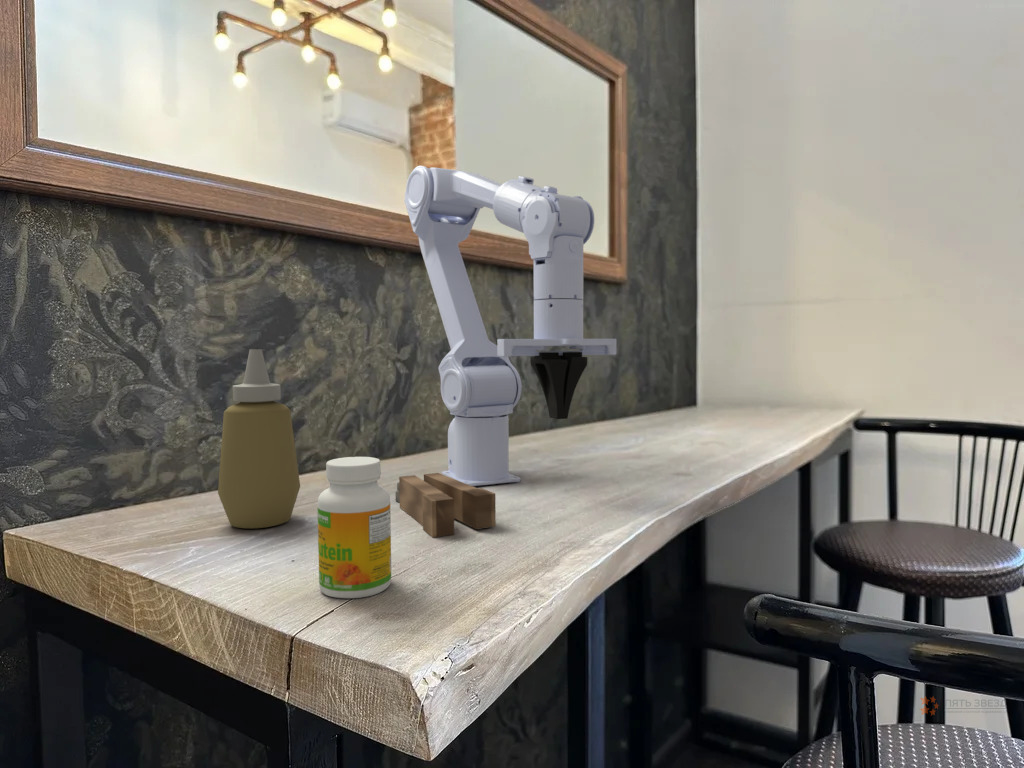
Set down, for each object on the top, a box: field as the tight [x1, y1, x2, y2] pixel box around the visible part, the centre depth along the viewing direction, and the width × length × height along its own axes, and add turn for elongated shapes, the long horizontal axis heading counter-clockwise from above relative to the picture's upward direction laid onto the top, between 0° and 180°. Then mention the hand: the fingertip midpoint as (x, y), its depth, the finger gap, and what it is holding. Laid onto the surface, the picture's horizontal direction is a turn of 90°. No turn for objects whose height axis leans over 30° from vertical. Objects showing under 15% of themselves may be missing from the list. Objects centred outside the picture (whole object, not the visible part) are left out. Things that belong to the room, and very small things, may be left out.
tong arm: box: [396, 472, 497, 530], centre depth 74 cm, size 18×4×3 cm, turn 30°
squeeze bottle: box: [217, 348, 301, 529], centre depth 70 cm, size 8×8×18 cm
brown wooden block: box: [394, 474, 455, 538], centre depth 74 cm, size 18×4×4 cm, turn 25°
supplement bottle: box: [317, 456, 392, 599], centre depth 51 cm, size 5×5×10 cm
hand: (558, 418), depth 79 cm, fingers closed
